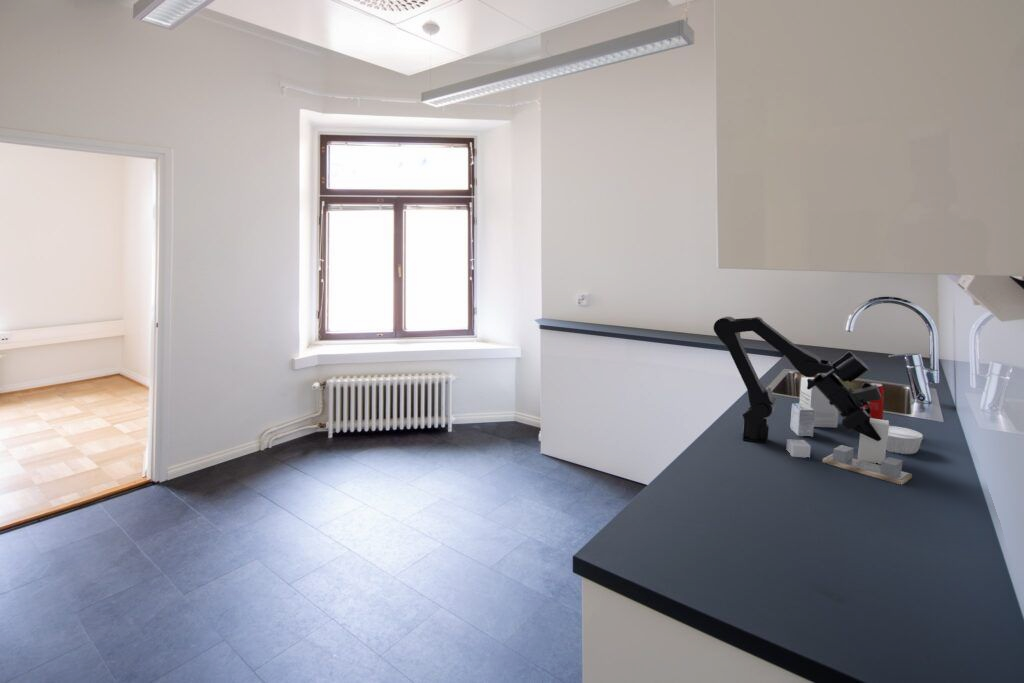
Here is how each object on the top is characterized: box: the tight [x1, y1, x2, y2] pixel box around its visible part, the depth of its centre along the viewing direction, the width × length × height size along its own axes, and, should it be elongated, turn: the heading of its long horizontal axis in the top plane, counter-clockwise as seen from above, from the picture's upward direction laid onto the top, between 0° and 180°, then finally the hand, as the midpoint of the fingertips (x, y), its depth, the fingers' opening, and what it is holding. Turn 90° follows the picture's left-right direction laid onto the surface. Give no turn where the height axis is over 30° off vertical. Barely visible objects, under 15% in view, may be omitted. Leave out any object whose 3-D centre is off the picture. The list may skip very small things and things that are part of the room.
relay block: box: [785, 438, 812, 459], centre depth 146 cm, size 4×5×4 cm
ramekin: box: [886, 425, 924, 455], centre depth 150 cm, size 11×11×5 cm
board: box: [822, 453, 913, 486], centre depth 135 cm, size 18×7×1 cm, turn 37°
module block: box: [857, 418, 890, 465], centre depth 141 cm, size 6×5×11 cm
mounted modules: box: [832, 444, 904, 477], centre depth 135 cm, size 14×5×3 cm, turn 37°
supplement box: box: [799, 376, 840, 429], centre depth 173 cm, size 9×9×15 cm
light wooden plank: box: [826, 454, 909, 480], centre depth 135 cm, size 17×6×1 cm, turn 37°
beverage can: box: [863, 382, 885, 420], centre depth 167 cm, size 6×6×15 cm
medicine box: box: [789, 402, 815, 438], centre depth 164 cm, size 8×4×9 cm, turn 168°
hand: (879, 437), depth 141 cm, fingers closed on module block, 5 cm apart
